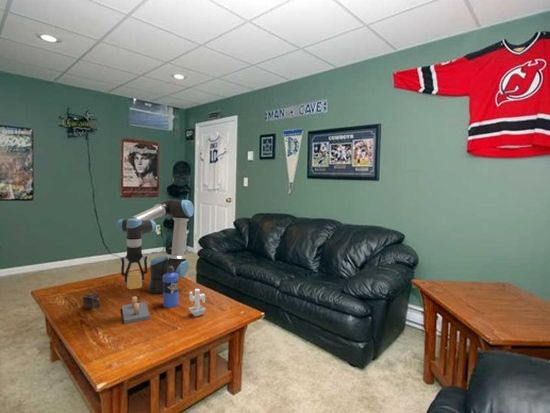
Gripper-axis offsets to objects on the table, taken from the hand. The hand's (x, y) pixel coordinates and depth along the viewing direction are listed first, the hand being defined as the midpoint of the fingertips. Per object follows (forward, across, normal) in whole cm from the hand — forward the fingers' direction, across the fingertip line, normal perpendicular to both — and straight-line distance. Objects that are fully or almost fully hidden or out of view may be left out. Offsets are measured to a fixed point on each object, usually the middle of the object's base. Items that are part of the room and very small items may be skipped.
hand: (134, 286), depth 171 cm
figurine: (+18, -33, +12) cm, 39 cm away
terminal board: (+17, -1, -4) cm, 18 cm away
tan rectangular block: (0, 0, 0) cm, 0 cm away
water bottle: (+17, -21, -9) cm, 29 cm away
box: (+18, +22, -25) cm, 38 cm away
